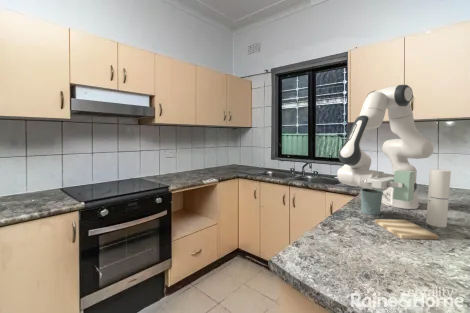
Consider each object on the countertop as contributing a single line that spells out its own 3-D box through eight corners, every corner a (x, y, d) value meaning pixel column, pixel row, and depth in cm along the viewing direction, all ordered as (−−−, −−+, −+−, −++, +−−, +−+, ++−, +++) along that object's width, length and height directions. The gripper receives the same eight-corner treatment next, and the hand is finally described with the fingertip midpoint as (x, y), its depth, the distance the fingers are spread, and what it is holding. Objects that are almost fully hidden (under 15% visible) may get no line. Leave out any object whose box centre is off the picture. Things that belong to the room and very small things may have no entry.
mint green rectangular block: (392, 198, 101) (394, 170, 100) (398, 197, 104) (399, 170, 103) (408, 201, 96) (409, 172, 96) (413, 199, 100) (415, 171, 99)
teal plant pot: (375, 210, 129) (377, 188, 128) (385, 216, 119) (387, 192, 118) (356, 209, 130) (357, 187, 129) (364, 215, 120) (365, 192, 119)
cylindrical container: (438, 227, 104) (443, 171, 102) (422, 222, 111) (425, 169, 109) (450, 226, 106) (455, 170, 104) (433, 221, 113) (437, 168, 111)
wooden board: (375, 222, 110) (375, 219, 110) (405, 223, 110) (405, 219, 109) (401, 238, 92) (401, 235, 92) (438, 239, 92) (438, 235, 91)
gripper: (360, 174, 104) (396, 179, 93) (381, 171, 116) (415, 174, 105) (360, 189, 105) (395, 195, 93) (381, 184, 116) (414, 188, 105)
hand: (406, 184), depth 99 cm, fingers closed on mint green rectangular block, 5 cm apart
